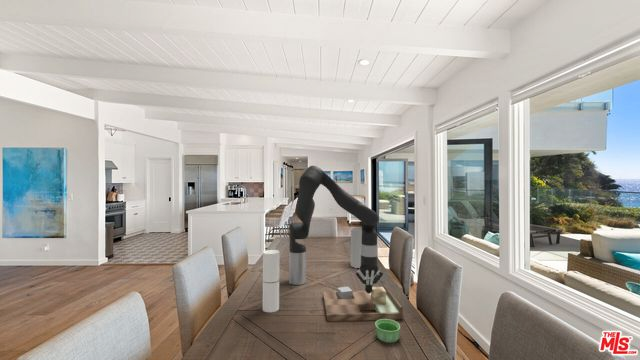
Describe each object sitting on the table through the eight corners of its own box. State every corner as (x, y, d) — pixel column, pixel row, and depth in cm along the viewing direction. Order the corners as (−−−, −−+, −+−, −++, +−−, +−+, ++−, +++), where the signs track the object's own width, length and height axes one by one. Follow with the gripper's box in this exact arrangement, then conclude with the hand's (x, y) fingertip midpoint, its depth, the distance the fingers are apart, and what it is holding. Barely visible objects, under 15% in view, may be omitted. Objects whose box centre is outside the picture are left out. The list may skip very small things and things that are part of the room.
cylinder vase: (370, 269, 179) (371, 230, 179) (351, 269, 179) (351, 230, 179) (367, 263, 191) (368, 227, 192) (349, 263, 191) (350, 227, 192)
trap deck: (327, 321, 112) (327, 308, 112) (323, 296, 136) (323, 286, 136) (402, 319, 113) (402, 307, 114) (385, 295, 137) (385, 285, 137)
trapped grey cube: (341, 304, 128) (341, 292, 128) (337, 299, 133) (337, 287, 133) (352, 302, 129) (352, 290, 130) (347, 297, 135) (347, 286, 135)
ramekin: (383, 327, 107) (383, 316, 107) (404, 337, 101) (405, 324, 101) (369, 336, 101) (370, 324, 101) (391, 347, 95) (391, 334, 95)
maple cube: (373, 304, 122) (373, 291, 122) (370, 298, 127) (370, 286, 127) (386, 304, 122) (386, 291, 122) (382, 298, 128) (382, 286, 128)
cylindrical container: (265, 313, 117) (265, 254, 118) (260, 307, 124) (261, 250, 124) (281, 310, 121) (281, 252, 121) (275, 303, 127) (276, 249, 127)
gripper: (356, 256, 121) (355, 296, 121) (386, 256, 121) (385, 296, 121) (353, 252, 128) (352, 289, 128) (381, 252, 129) (380, 289, 129)
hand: (368, 292), depth 125 cm, fingers closed
